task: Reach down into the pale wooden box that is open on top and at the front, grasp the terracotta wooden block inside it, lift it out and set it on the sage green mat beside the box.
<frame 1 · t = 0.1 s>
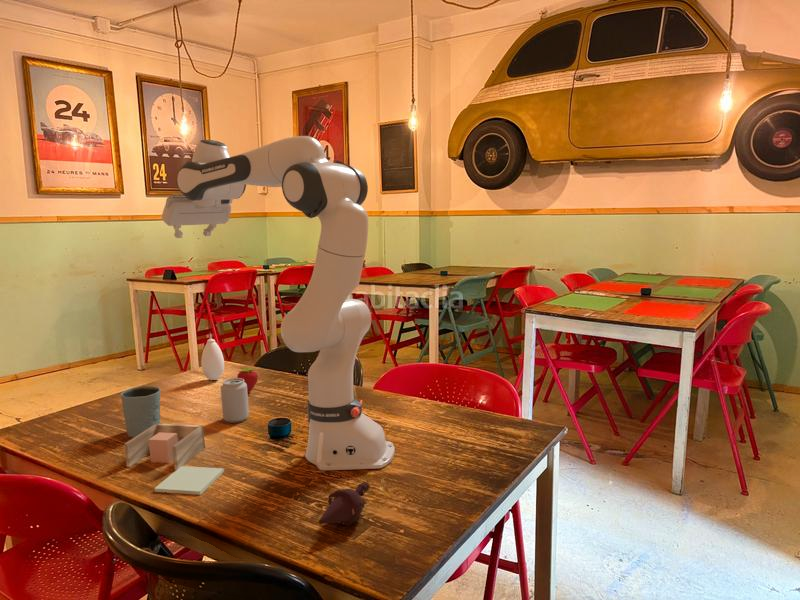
hand: (192, 236, 167), 54 cm above the table, tool tilted 30°, fingers open, 8 cm apart
open box: (168, 455, 143), on the table
can: (236, 419, 167), on the table
green mat: (190, 481, 129), on the table
grey cup: (144, 432, 159), on the table
strawberry: (248, 392, 191), on the table
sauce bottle: (214, 380, 206), on the table
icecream: (345, 523, 110), on the table
block: (165, 458, 141), on the table
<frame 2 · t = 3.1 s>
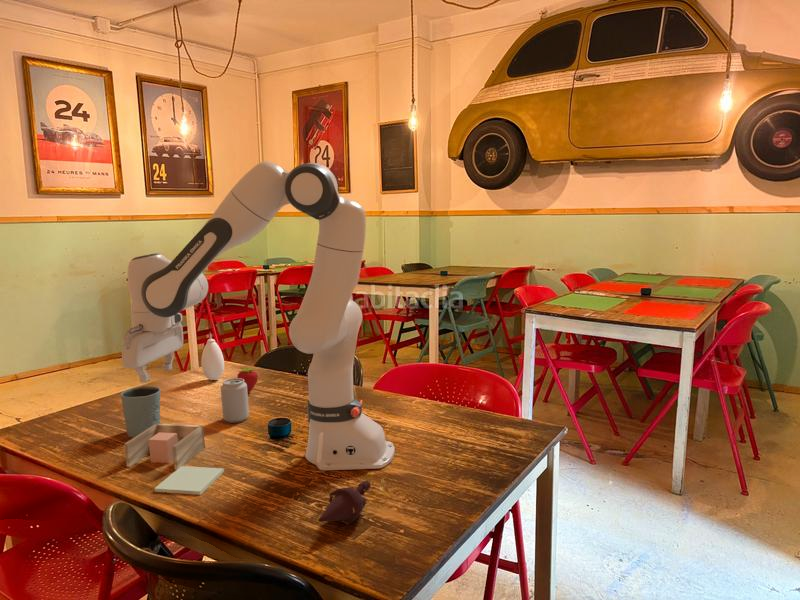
hand: (156, 375, 138), 22 cm above the table, tool pointing down, fingers open, 8 cm apart
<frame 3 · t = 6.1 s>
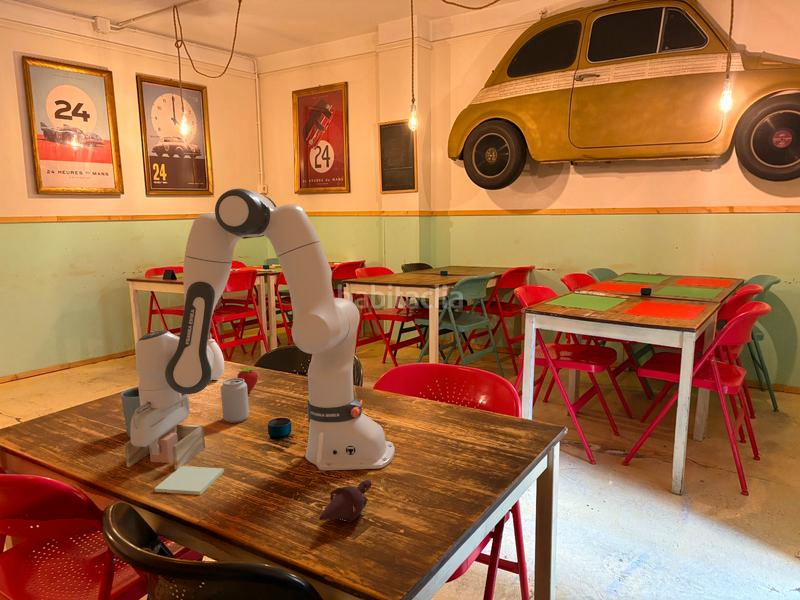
hand: (164, 448, 141), 3 cm above the table, tool pointing down, fingers closed on block, 4 cm apart
block: (165, 458, 141), on the table, touching gripper
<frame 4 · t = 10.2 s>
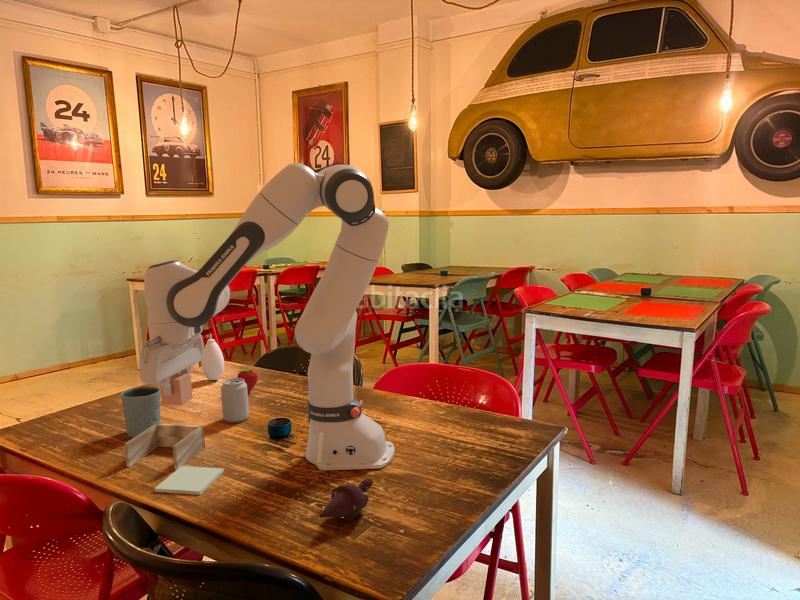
hand: (176, 390, 129), 20 cm above the table, tool pointing down, fingers closed on block, 4 cm apart
block: (177, 401, 130), point 18 cm above the table, touching gripper
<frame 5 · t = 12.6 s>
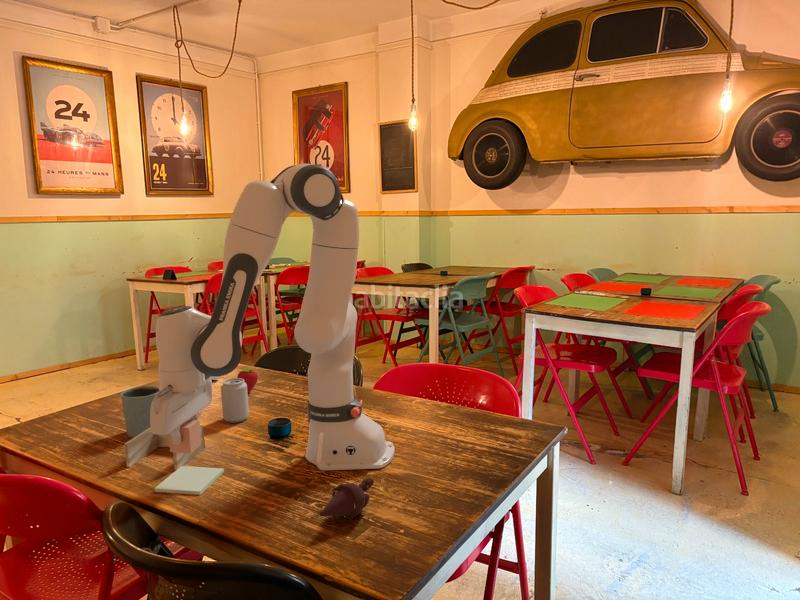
hand: (185, 437, 127), 11 cm above the table, tool pointing down, fingers closed on block, 4 cm apart
block: (185, 448, 127), point 8 cm above the table, touching gripper
when the fingers open (5 cm above the table, at t = 14.5 s): block drops 2 cm, resting on green mat.
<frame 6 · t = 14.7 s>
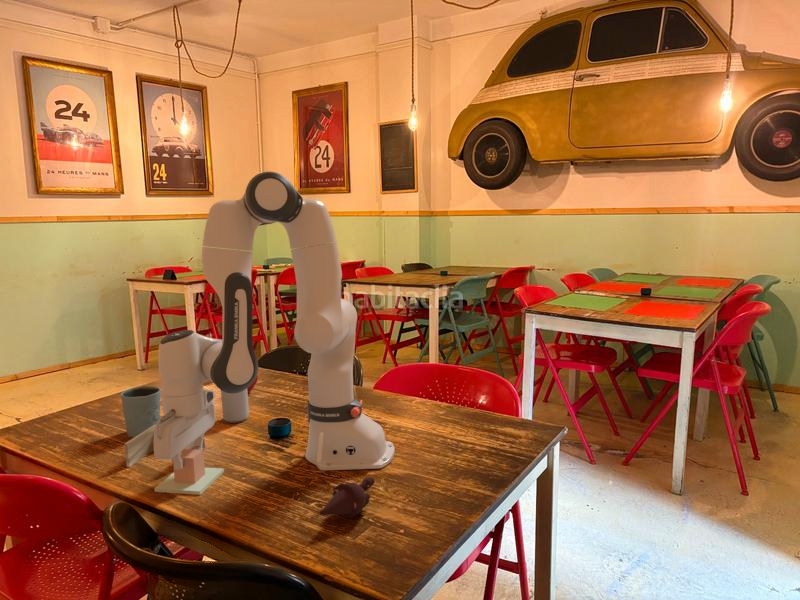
hand: (188, 460, 128), 5 cm above the table, tool pointing down, fingers open, 6 cm apart
block: (190, 477, 129), point 1 cm above the table, touching green mat
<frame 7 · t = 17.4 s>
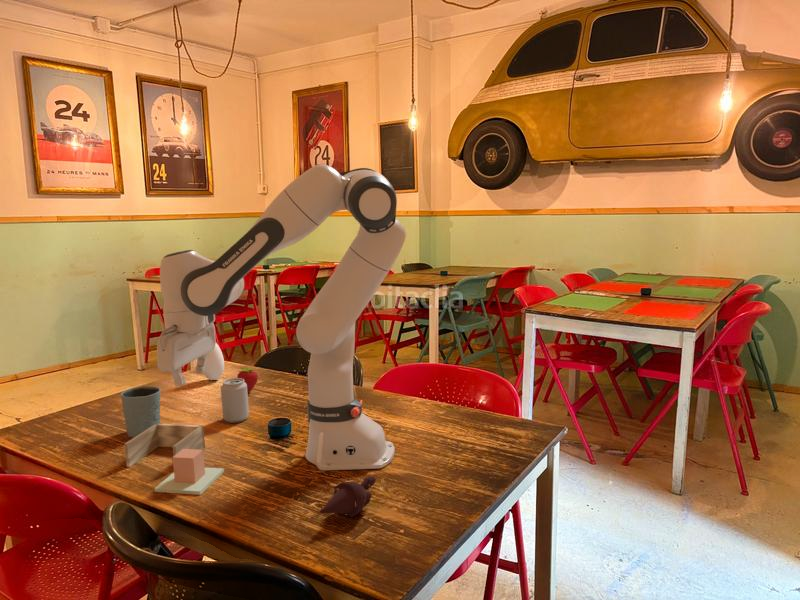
hand: (190, 379, 131), 23 cm above the table, tool pointing down, fingers open, 8 cm apart
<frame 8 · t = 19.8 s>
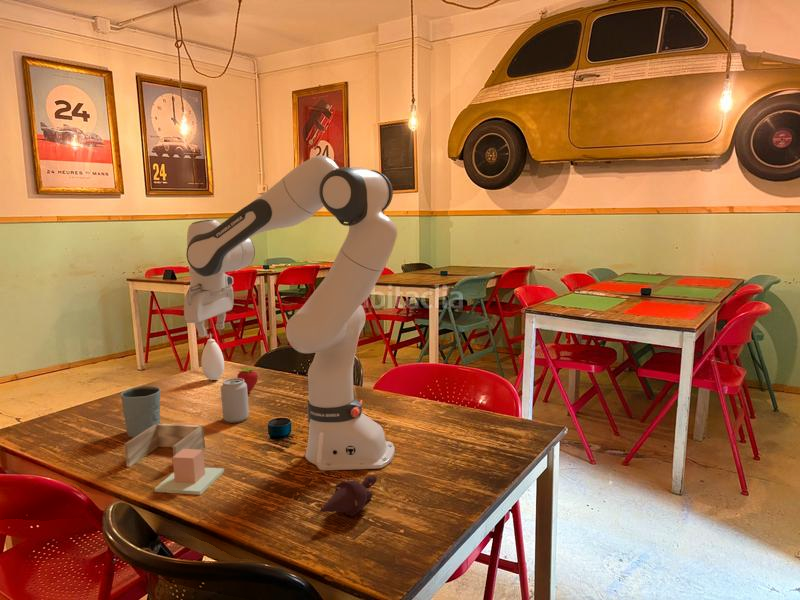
hand: (211, 332, 150), 29 cm above the table, tool pointing down, fingers open, 8 cm apart
at the end: block inside the target area on the green mat (0.1 cm from its centre), point 0.8 cm above the green mat's base; block tilted 0°; the gripper is holding nothing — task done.
